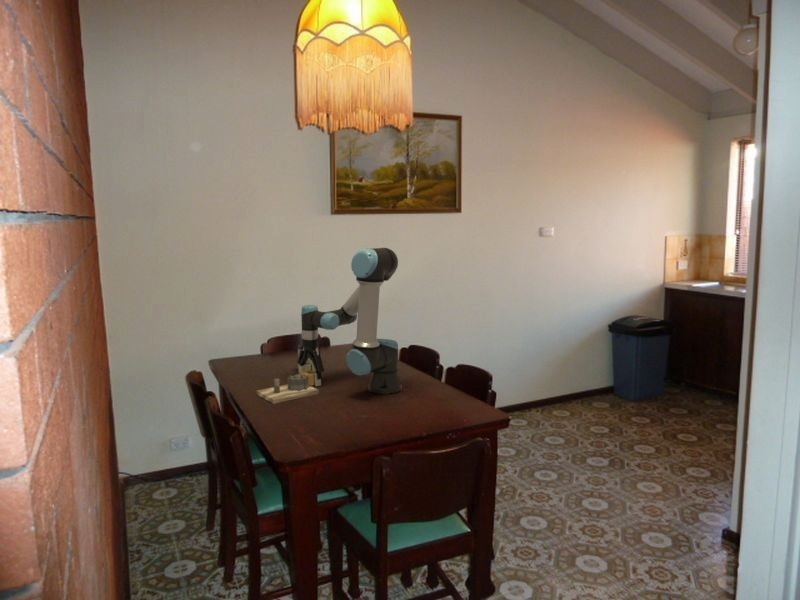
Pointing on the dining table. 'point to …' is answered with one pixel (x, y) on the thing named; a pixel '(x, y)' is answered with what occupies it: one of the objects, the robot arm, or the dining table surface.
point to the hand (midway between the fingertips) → (310, 382)
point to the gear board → (288, 389)
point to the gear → (310, 376)
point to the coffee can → (308, 363)
